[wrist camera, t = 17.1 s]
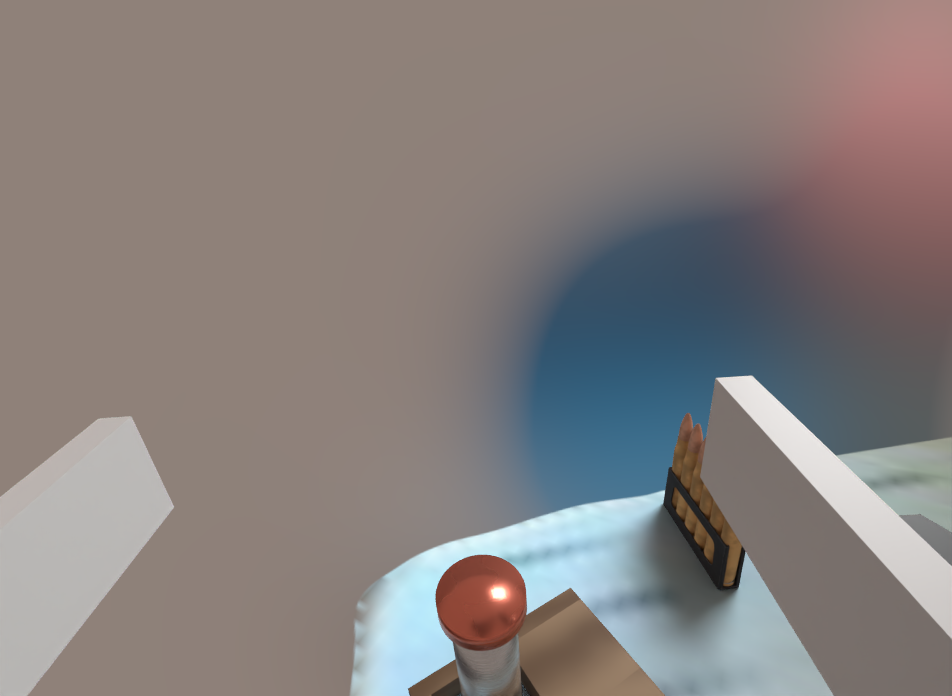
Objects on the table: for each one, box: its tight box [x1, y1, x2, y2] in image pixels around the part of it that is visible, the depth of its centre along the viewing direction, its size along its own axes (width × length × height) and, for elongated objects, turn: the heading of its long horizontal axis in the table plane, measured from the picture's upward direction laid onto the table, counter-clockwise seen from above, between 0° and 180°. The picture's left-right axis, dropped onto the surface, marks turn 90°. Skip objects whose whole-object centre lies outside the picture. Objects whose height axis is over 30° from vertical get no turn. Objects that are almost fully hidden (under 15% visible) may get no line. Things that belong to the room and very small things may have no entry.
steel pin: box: [436, 555, 527, 696], centre depth 31 cm, size 5×5×14 cm
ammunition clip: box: [663, 413, 746, 590], centre depth 44 cm, size 11×2×12 cm, turn 6°
